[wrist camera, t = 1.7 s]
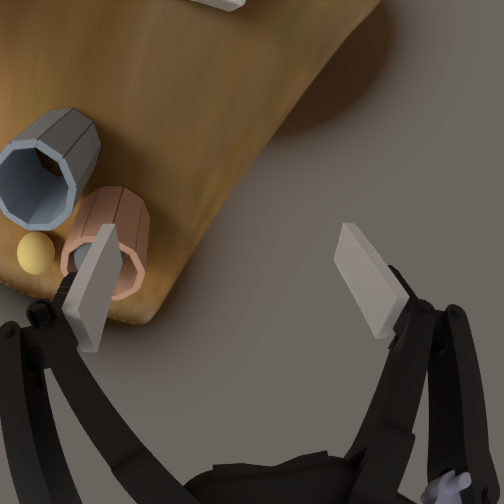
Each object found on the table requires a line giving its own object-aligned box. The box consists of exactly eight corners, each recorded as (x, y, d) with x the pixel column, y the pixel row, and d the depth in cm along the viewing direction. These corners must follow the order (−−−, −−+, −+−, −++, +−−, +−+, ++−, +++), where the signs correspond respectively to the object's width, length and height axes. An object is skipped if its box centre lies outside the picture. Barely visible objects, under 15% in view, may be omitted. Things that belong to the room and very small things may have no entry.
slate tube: (17, 143, 26) (-23, 183, 18) (71, 91, 24) (33, 116, 17) (60, 195, 32) (34, 245, 25) (116, 152, 31) (96, 196, 23)
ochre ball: (18, 235, 34) (4, 263, 29) (39, 215, 33) (25, 243, 29) (44, 260, 38) (34, 289, 33) (66, 243, 37) (56, 272, 33)
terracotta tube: (66, 212, 34) (44, 263, 27) (121, 171, 32) (104, 219, 25) (110, 256, 40) (100, 310, 33) (163, 224, 39) (162, 278, 32)
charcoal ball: (80, 245, 32) (55, 246, 26) (117, 219, 32) (97, 215, 26) (102, 288, 32) (81, 297, 27) (141, 264, 33) (124, 269, 27)
